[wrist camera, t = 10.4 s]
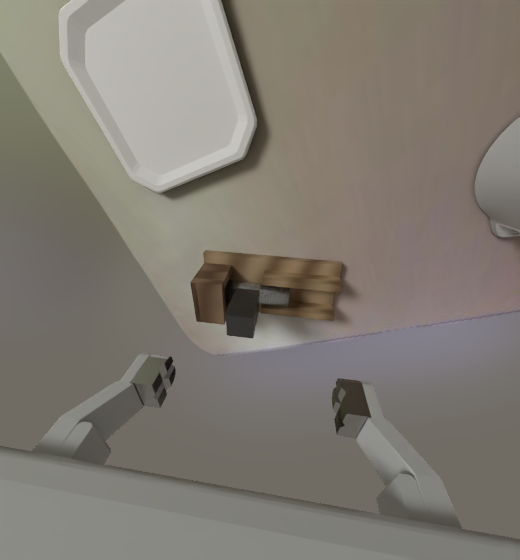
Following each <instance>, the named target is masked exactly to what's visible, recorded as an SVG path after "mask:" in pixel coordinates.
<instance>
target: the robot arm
mask: <svg viewBox="0 0 520 560" xmlns="http://www.w3.org/2000/svg"><path fill="white" fill-rule="evenodd" d="M475 197H476V200H477V203H478V205H479V207H480V208H481V209H482V210H483V212H484V213H485V214H486V215H487V216H488V217H489V219H490V225H491V230H492V233H493V234H494V235H496V236H499V237H515V236H520V117H519V118H518V119H517V120H515V121H514V122H513V123H512V124H511V125H510V126H509V127H508V128H507V129H506V130H505V131H504V132H503V133H502V134H501V135H500V136H499V137H498V138H497V139H496V141H495V142H494V143H493V145H492V146H491V147H490V149H489V150H488V152H487V153H486V155H485V157H484V158H483V160H482V162H481V165H480V167H479V169H478V172H477V176H476V180H475ZM172 362H173V359H172V357H169V356H162V355H156V354H149V353H141V354H139V355H138V357H137V358H136V359H135V361H134V362H133V364H132V365H131V366H130V368H129V369H128V371H127V372H126V373H125V375H124V376H123V378H122V379H121V380H120V382H119V381H116V382H115V383H113V384H112V385H110V386H108V387H107V388H105V389H104V390H102V391H100V392H99V393H97V394H96V395H94V396H92V397H91V398H89V399H88V400H86V401H85V402H83V403H81V404H80V405H78V406H77V407H75V408H73V409H72V410H71V411H69V412H67V413H66V414H64V415H62V416H61V417H60V418H59V419H58V420H57V422H56V423H55V424H54V425H53V426H52V428H51V429H50V430H49V431H48V432H47V434H46V435H45V436H44V437H43V438H42V439H41V441H40V442H39V443H38V444H37V445H36V447H35V448H34V449H33V450H32V451H27V450H21V449H15V448H10V447H4V446H0V560H520V539H516V538H510V537H505V536H499V535H494V534H487V533H483V532H477V531H471V530H465V529H462V527H461V525H460V522H459V520H458V518H457V515H456V513H455V511H454V508H453V506H452V504H451V501H450V499H449V497H448V494H447V492H446V490H445V487H444V485H443V483H442V480H441V479H440V477H439V476H438V475H437V474H436V473H435V472H434V471H433V470H432V469H431V468H430V466H429V465H428V464H427V463H426V462H425V461H424V460H423V459H422V457H421V456H420V455H419V454H418V453H417V452H416V451H415V450H414V448H413V447H412V446H411V445H410V444H409V443H408V442H407V441H406V440H405V439H404V437H403V436H402V435H401V434H400V433H399V432H398V431H397V429H396V428H394V426H393V425H392V424H391V423H390V422H389V421H388V420H385V418H384V415H383V412H382V409H381V406H380V403H379V400H378V397H377V395H376V391H375V388H374V385H373V384H372V383H370V382H362V381H357V380H348V379H339V378H338V379H337V381H336V387H335V388H334V389H333V393H332V406H333V410H334V411H335V413H336V416H335V426H336V433H337V435H340V436H346V437H351V438H356V440H357V442H358V443H359V445H360V447H361V448H362V450H363V451H364V453H365V454H366V456H367V457H368V459H369V461H370V462H371V464H372V465H373V467H374V468H375V470H376V472H377V473H378V475H379V476H380V478H381V479H382V481H383V482H384V484H385V486H386V488H385V489H384V490H383V491H382V492H381V493H380V494H379V495H378V497H377V503H378V508H379V512H380V514H377V513H371V512H366V511H360V510H354V509H349V508H344V507H338V506H332V505H327V504H321V503H316V502H310V501H304V500H299V499H294V498H288V497H282V496H277V495H271V494H266V493H260V492H255V491H249V490H244V489H238V488H232V487H227V486H221V485H216V484H210V483H204V482H198V481H193V480H188V479H182V478H176V477H171V476H166V475H160V474H155V473H149V472H143V471H138V470H132V469H127V468H121V467H115V466H110V465H104V464H105V462H106V460H107V458H108V457H109V455H110V453H111V449H110V447H109V446H108V444H107V443H106V442H105V441H106V440H107V439H108V438H109V437H110V436H111V435H112V434H114V433H115V432H116V431H117V430H118V429H119V428H120V427H121V426H122V425H124V424H125V423H126V422H127V421H128V420H129V419H130V418H131V417H133V416H134V415H135V414H136V413H137V412H138V411H139V410H140V409H142V408H143V406H149V407H157V408H160V407H161V406H162V403H163V401H164V400H165V398H166V395H167V393H166V390H167V389H168V388H169V387H171V385H172V383H173V381H174V378H175V371H176V370H175V367H174V366H173V365H172Z"/></svg>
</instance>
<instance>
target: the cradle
mask: <svg viewBox="0 0 520 560" xmlns="http://www.w3.org/2000/svg"><path fill="white" fill-rule="evenodd" d="M203 254H204V264H203V266H202V267H201V268H200V270H199V271H198V273H197V274H196V275H195V277H194V278H193V280H192V281H191V289H192V295H193V301H194V308H195V314H196V320H197V321H198V322H207V323H216V324H225V322H226V314H227V311H228V309H229V306H230V303H231V301H229V300H225V287H226V285H227V282H228V280H229V281H239V282H249V283H259V284H263V285H267V286H277V287H287V288H290V293H289V303H288V307H285V306H276V305H266V304H259V312H261V313H266V314H275V315H284V316H293V317H303V318H312V319H321V320H330V321H333V320H334V316H335V315H334V311H333V306H332V304H333V300H334V296H335V293H336V292H338V293H341V291H342V287H343V286H342V283H341V280H340V273H341V270H342V266H343V265H342V262H335V261H324V260H312V259H300V258H289V257H277V256H265V255H254V254H242V253H231V252H219V251H207V250H206V251H205V252H204V253H203Z"/></svg>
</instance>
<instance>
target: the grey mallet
mask: <svg viewBox="0 0 520 560" xmlns="http://www.w3.org/2000/svg"><path fill="white" fill-rule="evenodd" d="M289 293H290V288H287V287H277V286H267V285H263V284H259V283H249V282H239V281H229V280H228V282H227V285H226V287H225V300H229V301H231V303H230V306H229V309H228V311H227V314H226V325H227V335H229V336H238V337H246V338H253V336H254V331H255V326H256V322H257V317H258V312H259V304H266V305H276V306H285V307H288V303H289Z"/></svg>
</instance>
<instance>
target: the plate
mask: <svg viewBox="0 0 520 560" xmlns="http://www.w3.org/2000/svg"><path fill="white" fill-rule="evenodd" d="M59 37H60V57H61V60H62V63H63V65H64V67H65V68H66V70H67V72H68V73H69V75H70V77H71V78H72V80H73V82H74V83H75V85H76V87H77V89H78V90H79V92H80V94H81V95H82V97H83V99H84V100H85V102H86V104H87V105H88V107H89V109H90V111H91V112H92V114H93V116H94V117H95V119H96V121H97V122H98V124H99V126H100V127H101V129H102V131H103V133H104V134H105V136H106V138H107V139H108V141H109V143H110V144H111V146H112V148H113V149H114V151H115V153H116V155H117V156H118V158H119V160H120V161H121V163H122V165H123V166H124V168H125V170H126V171H127V173H128V175H129V177H130V178H131V179H132V180H133V181H134V182H136V183H138V184H140V185H142V186H144V187H146V188H148V189H150V190H152V191H154V192H157V193H163V192H165V191H168V190H170V189H173V188H175V187H177V186H180V185H182V184H185V183H187V182H189V181H192V180H194V179H197V178H199V177H202V176H204V175H206V174H209V173H211V172H214V171H216V170H218V169H221V168H223V167H226V166H228V165H231V164H233V163H235V162H238V161H240V160H243V159H244V157H245V156H246V154H247V152H248V149H249V146H250V144H251V141H252V138H253V136H254V133H255V130H256V128H257V117H256V114H255V111H254V107H253V104H252V101H251V97H250V94H249V91H248V87H247V84H246V81H245V77H244V74H243V71H242V68H241V64H240V61H239V58H238V54H237V51H236V48H235V44H234V41H233V38H232V34H231V31H230V28H229V24H228V21H227V18H226V14H225V11H224V8H223V4H222V1H221V0H71V1H69V2H68V3H67V4H66V5H65V6H63V7H62V8H61V9H60V12H59Z"/></svg>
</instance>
